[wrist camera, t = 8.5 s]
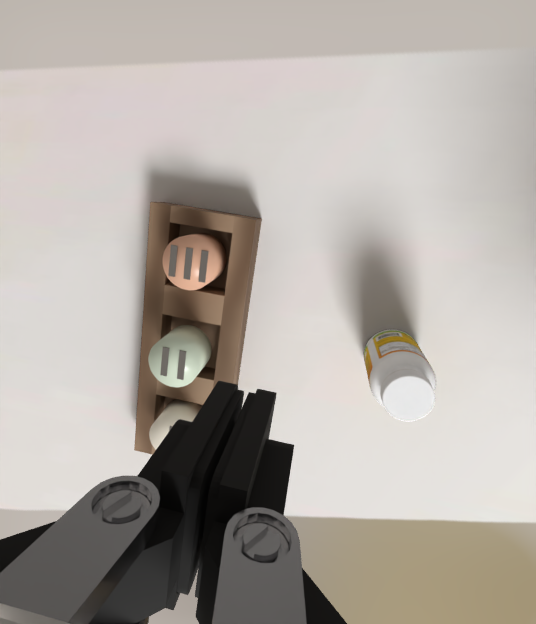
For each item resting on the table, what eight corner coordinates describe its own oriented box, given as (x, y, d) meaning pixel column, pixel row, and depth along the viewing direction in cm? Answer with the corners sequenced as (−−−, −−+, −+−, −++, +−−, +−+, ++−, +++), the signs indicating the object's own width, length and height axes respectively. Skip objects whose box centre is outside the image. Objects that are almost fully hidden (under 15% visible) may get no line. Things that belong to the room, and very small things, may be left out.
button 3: (229, 237, 38) (217, 241, 34) (223, 285, 39) (211, 295, 35) (181, 228, 38) (164, 231, 34) (177, 277, 40) (160, 285, 36)
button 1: (208, 403, 43) (196, 423, 39) (204, 440, 44) (191, 464, 40) (166, 393, 43) (150, 413, 39) (163, 431, 45) (147, 453, 41)
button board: (261, 218, 38) (256, 219, 35) (227, 453, 46) (220, 470, 43) (163, 202, 39) (150, 202, 36) (146, 434, 47) (134, 450, 44)
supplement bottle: (395, 387, 41) (413, 442, 31) (352, 358, 41) (358, 404, 31) (430, 348, 39) (461, 394, 30) (386, 317, 39) (403, 353, 30)
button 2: (214, 330, 39) (201, 344, 35) (208, 374, 40) (195, 392, 36) (167, 320, 39) (149, 333, 35) (164, 364, 41) (146, 381, 37)
